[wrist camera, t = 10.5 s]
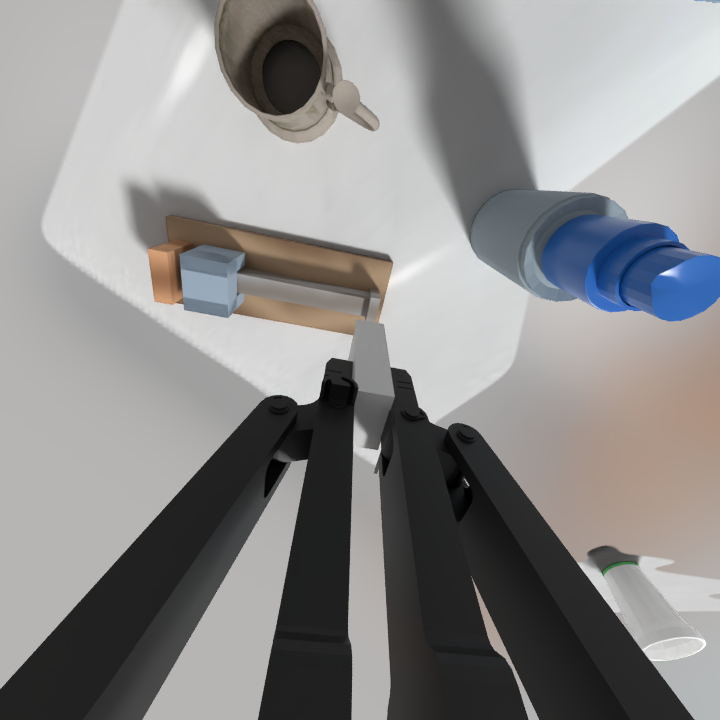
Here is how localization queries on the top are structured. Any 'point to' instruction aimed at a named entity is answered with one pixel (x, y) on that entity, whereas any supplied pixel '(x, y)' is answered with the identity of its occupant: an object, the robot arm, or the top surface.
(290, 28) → the mug
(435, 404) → the top surface
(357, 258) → the rail board
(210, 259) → the slider
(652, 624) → the cup
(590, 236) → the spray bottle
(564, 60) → the top surface
